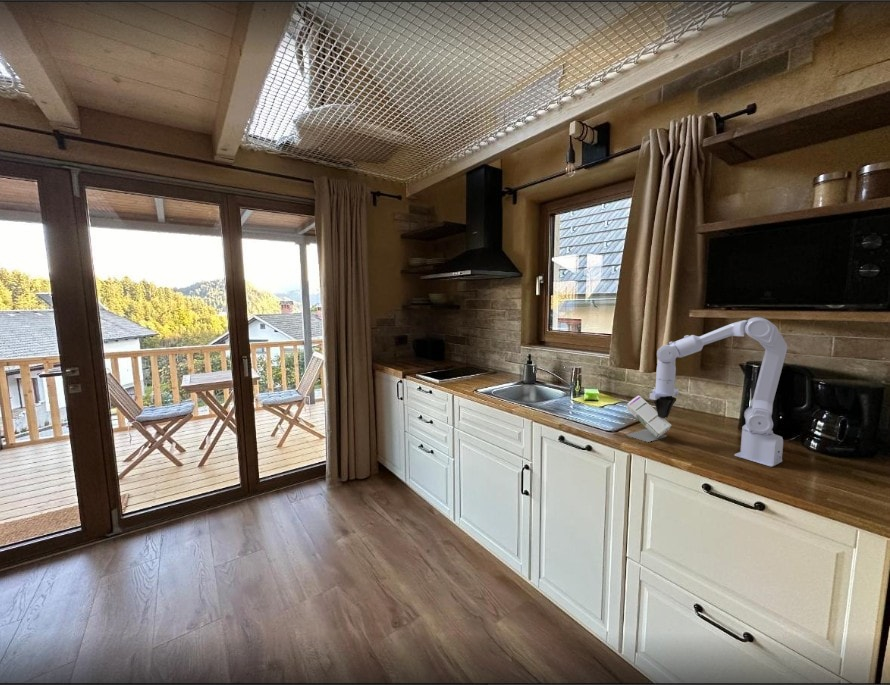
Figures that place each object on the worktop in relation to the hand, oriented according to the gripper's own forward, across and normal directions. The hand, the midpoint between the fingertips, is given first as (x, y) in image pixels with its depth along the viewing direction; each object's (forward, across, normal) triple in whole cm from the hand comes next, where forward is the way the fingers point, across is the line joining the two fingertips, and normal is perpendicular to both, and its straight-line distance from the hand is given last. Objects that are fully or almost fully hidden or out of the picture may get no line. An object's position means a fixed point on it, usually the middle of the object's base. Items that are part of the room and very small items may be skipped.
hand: (663, 417), depth 127 cm
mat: (+9, 0, -6) cm, 10 cm away
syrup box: (+5, 0, +1) cm, 5 cm away
